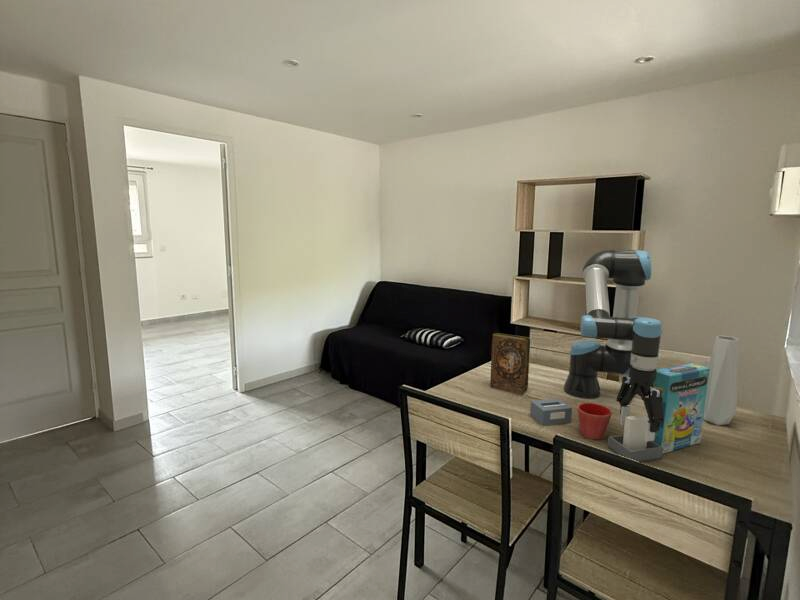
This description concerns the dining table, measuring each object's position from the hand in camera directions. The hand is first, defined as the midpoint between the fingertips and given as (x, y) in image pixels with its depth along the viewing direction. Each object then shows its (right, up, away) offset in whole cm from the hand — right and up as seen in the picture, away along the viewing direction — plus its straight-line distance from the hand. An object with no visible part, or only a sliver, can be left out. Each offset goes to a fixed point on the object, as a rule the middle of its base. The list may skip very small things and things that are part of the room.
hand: (636, 432), depth 138 cm
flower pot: (-8, -5, +14) cm, 17 cm away
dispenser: (-19, -3, +26) cm, 32 cm away
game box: (+16, -7, +7) cm, 19 cm away
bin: (0, -7, +1) cm, 7 cm away
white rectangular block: (0, -7, +1) cm, 7 cm away
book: (-28, +2, +56) cm, 62 cm away
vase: (+44, -3, +25) cm, 51 cm away
